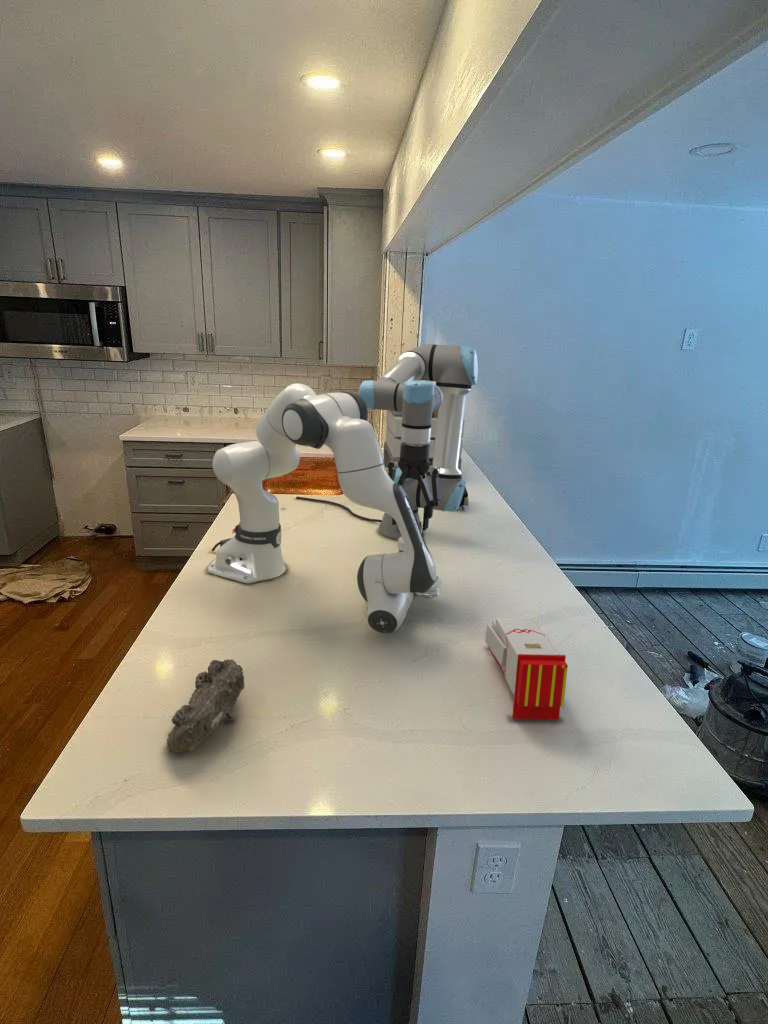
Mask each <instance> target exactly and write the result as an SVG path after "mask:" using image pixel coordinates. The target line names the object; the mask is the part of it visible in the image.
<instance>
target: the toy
mask: <svg viewBox="0 0 768 1024" xmlns="http://www.w3.org/2000/svg"><path fill="white" fill-rule="evenodd" d="M484 642H485V643H486V645H487V646H488V650H489V651H490V654H491V655H492V657H493V659H494V660H495V662H496V664H497V666H498V667H499V669H500V671H501V672H502V675H503V676H504V678H505V680H506V682H507V684H508V686H509V688H510V691H511V693H512V694H513V704H512V705H513V706H512V715H511V717H512V719H513V720H560V714H561V708H563V707H564V704H565V695H566V685H567V677H568V668H569V666H568V663H567V662H566V657H567V656H566V654H560V653H559V651H558V650H557V648H556V647H555V646H554V645H553V643H552V642H551V640H550V639H549V638H548V636H547V635H546V634H545V632H544V631H543V629H542V628H541V627H540V625H539V623H537V621H536V620H535V619H534V618H523V617H522V618H521V617H520V618H519V617H516V618H515V617H496V618H495V620H492V622H491V624H490V623H486V629H485V637H484Z"/></svg>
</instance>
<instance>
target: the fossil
mask: <svg viewBox="0 0 768 1024" xmlns="http://www.w3.org/2000/svg"><path fill="white" fill-rule="evenodd" d="M243 670H244V669H243V667H242V665H240V664H237V662H236V661H235V660H234V659H232V658H231V659H227V658H226V659H224V660H223V661H222V660H217V659H212V660H211V661H210V663H209V665H208V666H207V671H201V672H199V673H198V674H197V675H196V676H195V680H194V684H195V685H194V687H195V689H194V690H193V693H192V694H191V697H190V698H189V700H188V704H184V705H182V706H181V707H180V709H177V710H176V711H175V713H174V715H173V716H172V718H171V723H172V724H173V727H172V730H171V731H170V732H168V734H167V738H166V741H167V742H166V745H167V749H168V750H169V751H173V752H174V753H176V754H178V753H182V752H188V751H189V752H192V751H193V750H195V748H196V747H197V746H199V744H200V743H201V742H203V741H204V740H205V739H206V738H207V737H208V736H209V735H210V734H211V733H212V732H214V730H215V729H217V727H218V726H219V724H220V722H221V721H222V720H223V719H224V718H225V716H226V717H227V719H229V720H233V717H232V715H230V714H229V710H230V709H231V708H234V706H235V704H236V703H237V702H238V699H239V697H240V695H241V693H242V691H243V690H245V689H244V688H245V675H244V671H243Z"/></svg>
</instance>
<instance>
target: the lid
mask: <svg viewBox="0 0 768 1024" xmlns="http://www.w3.org/2000/svg"><path fill="white" fill-rule="evenodd" d="M396 547H397V549H398V551H399V550H401V551H407V549H406V546H405V543H404V541H403V538H402V537H400V538H399V539H398V540H397V546H396Z"/></svg>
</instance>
